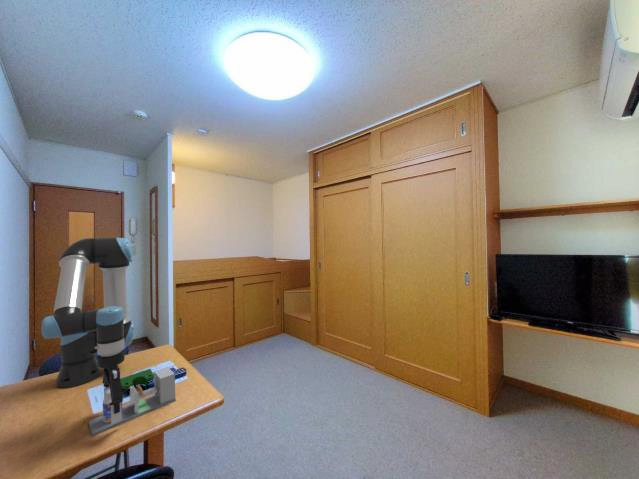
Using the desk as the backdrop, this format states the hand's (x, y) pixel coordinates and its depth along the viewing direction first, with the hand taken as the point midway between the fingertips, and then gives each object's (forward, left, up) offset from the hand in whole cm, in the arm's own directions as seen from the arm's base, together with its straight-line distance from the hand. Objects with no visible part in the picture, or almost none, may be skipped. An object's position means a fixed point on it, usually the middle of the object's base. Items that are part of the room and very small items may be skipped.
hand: (112, 412), depth 93 cm
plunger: (0, +13, -2) cm, 13 cm away
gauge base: (0, +6, -3) cm, 7 cm away
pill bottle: (0, 0, -2) cm, 2 cm away
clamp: (-17, +11, -3) cm, 20 cm away
